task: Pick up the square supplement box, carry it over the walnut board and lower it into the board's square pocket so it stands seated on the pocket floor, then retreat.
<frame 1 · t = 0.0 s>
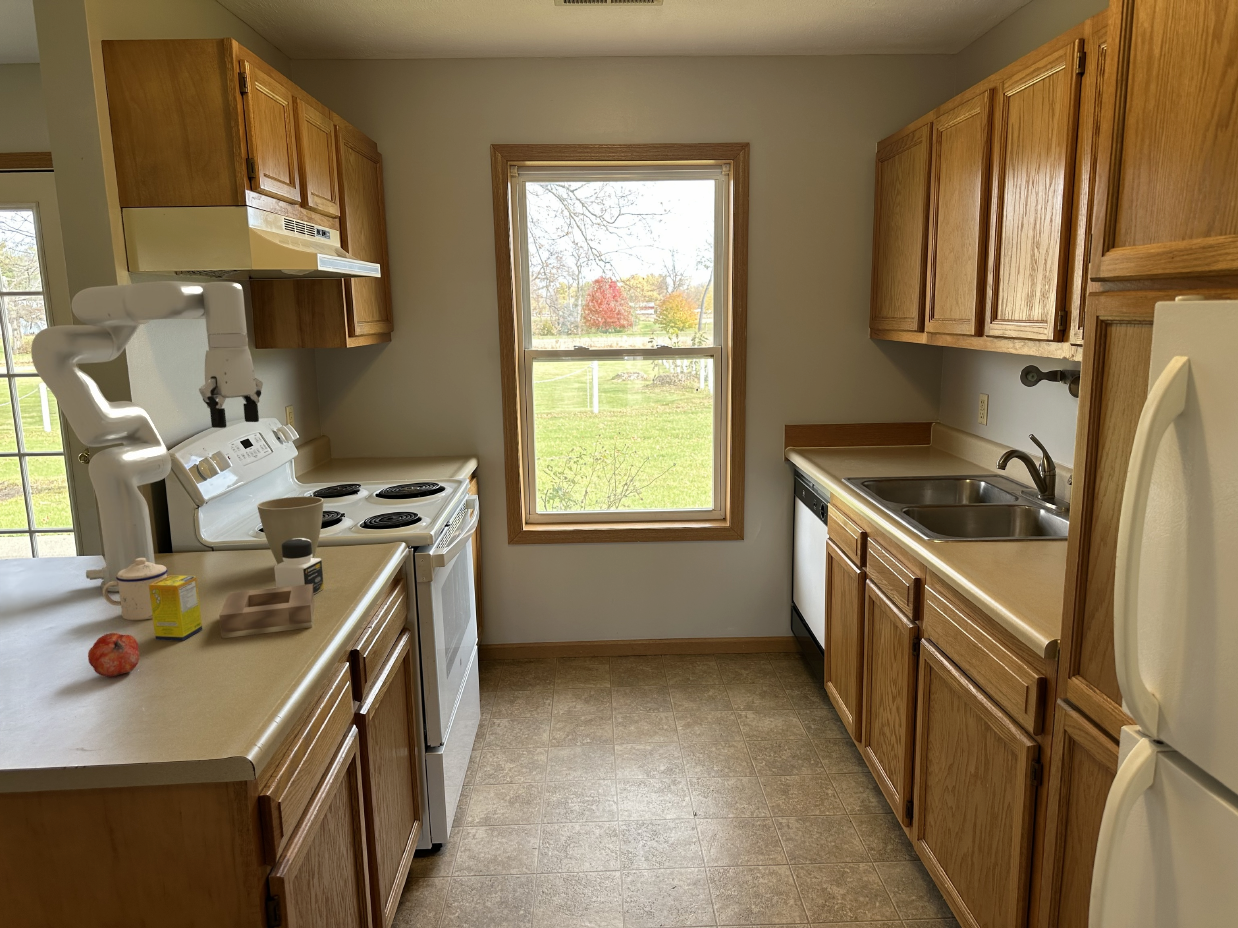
hand: (236, 424, 176), 37 cm above the countertop, tool pointing down, fingers open, 9 cm apart
teacup with lid: (139, 615, 171), on the countertop
plant pot: (296, 566, 203), on the countertop
medicine bottle: (300, 594, 182), on the countertop
pocket board: (270, 620, 165), on the countertop
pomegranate: (116, 674, 142), on the countertop
supplement box: (179, 635, 159), on the countertop
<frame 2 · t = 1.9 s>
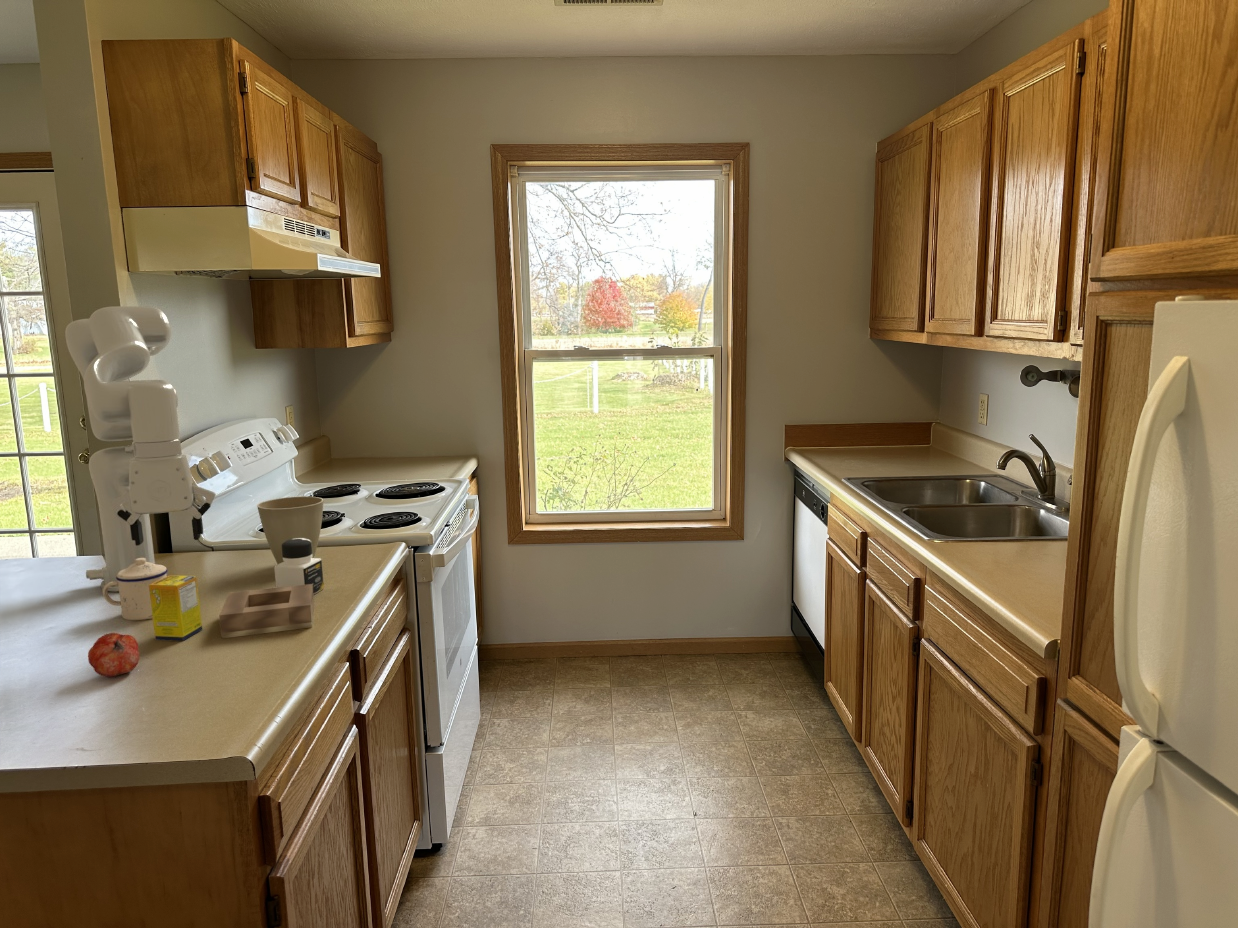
hand: (168, 541, 155), 18 cm above the countertop, tool pointing down, fingers open, 9 cm apart
nothing on the countertop moved.
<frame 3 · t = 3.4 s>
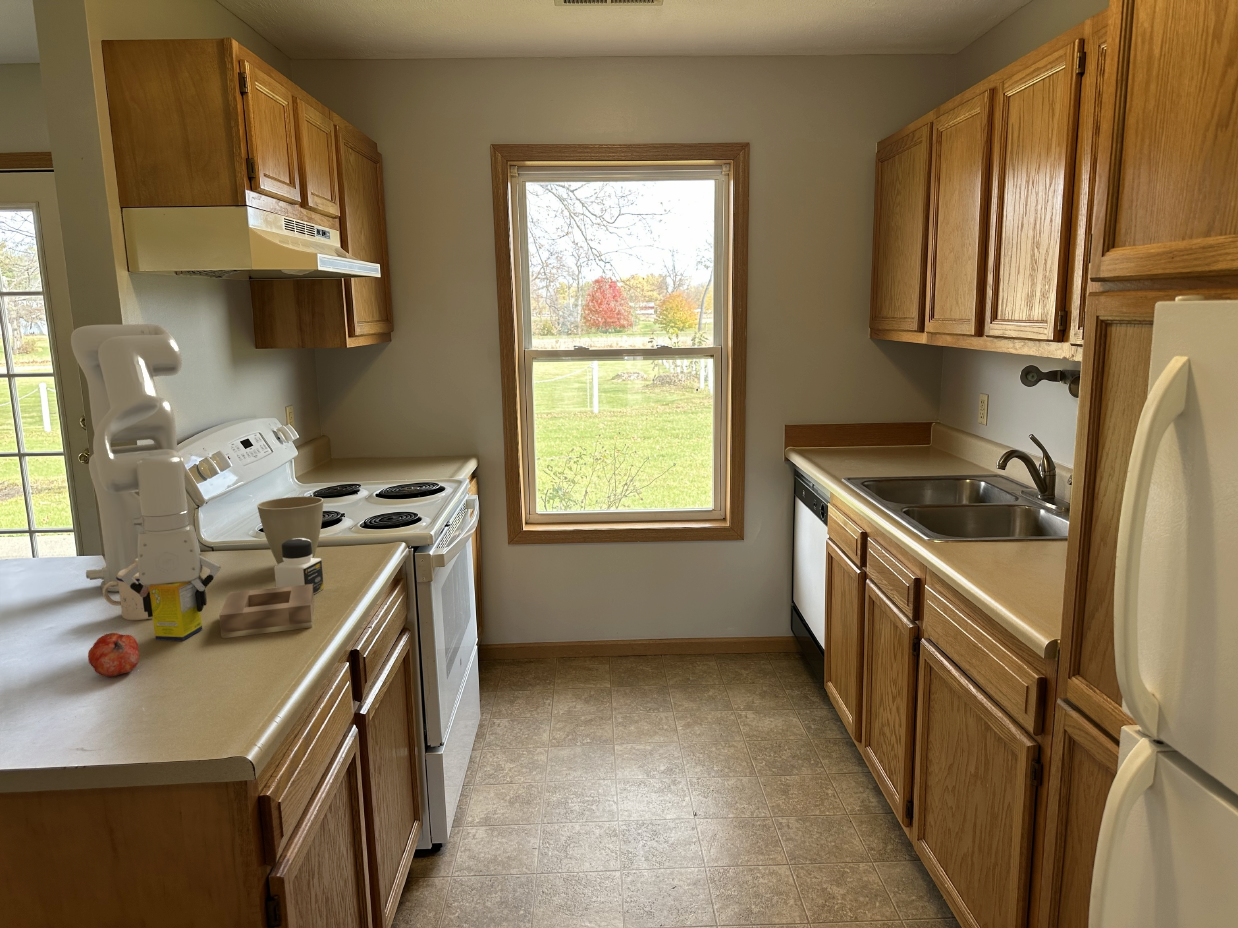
hand: (176, 611, 158), 5 cm above the countertop, tool pointing down, fingers closed on supplement box, 7 cm apart
supplement box: (179, 635, 159), on the countertop, touching gripper
everything else where it was.
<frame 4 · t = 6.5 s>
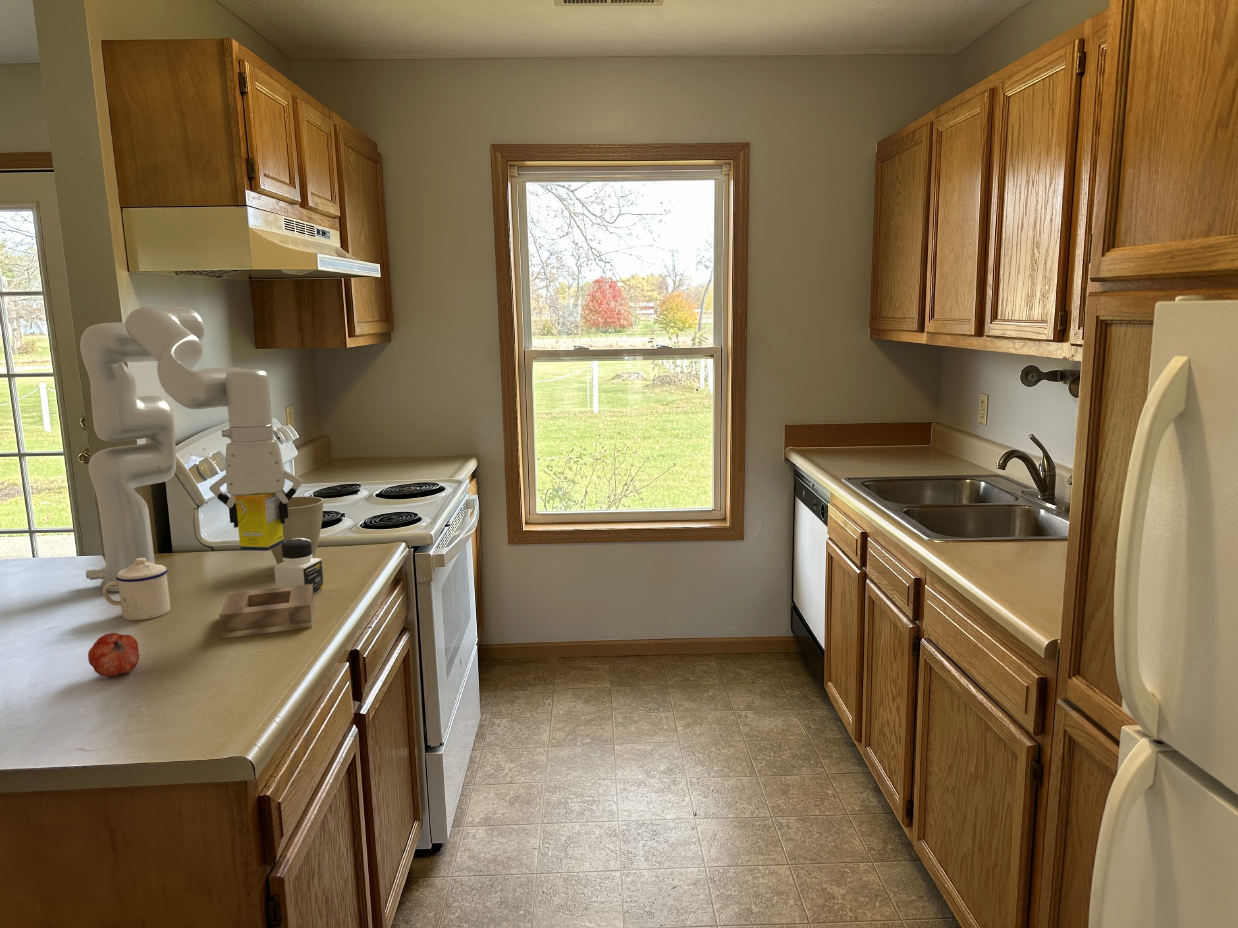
hand: (260, 523, 162), 20 cm above the countertop, tool pointing down, fingers closed on supplement box, 7 cm apart
supplement box: (262, 547, 163), point 15 cm above the countertop, touching gripper
everything else where it was.
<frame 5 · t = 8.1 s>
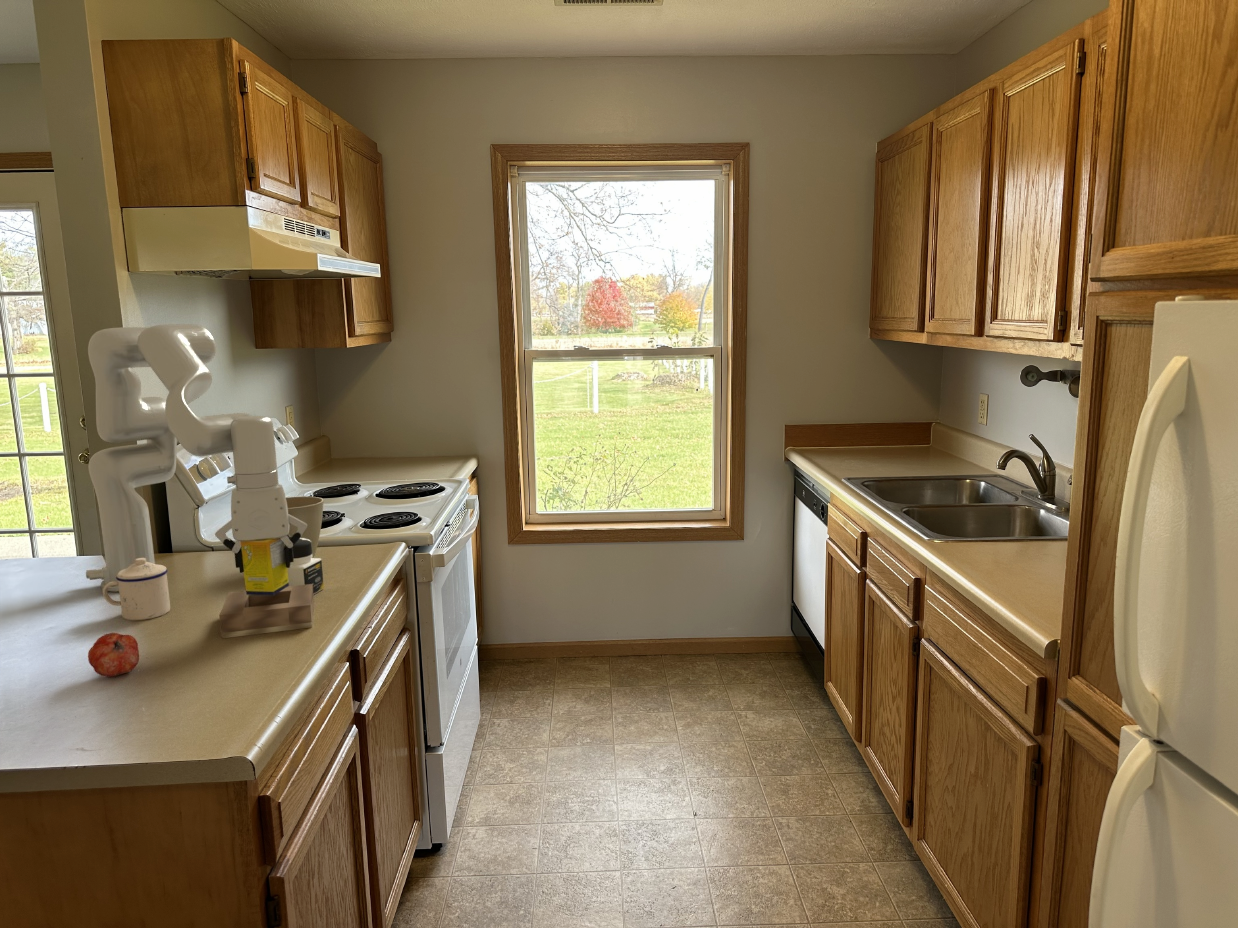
hand: (265, 567, 164), 11 cm above the countertop, tool pointing down, fingers closed on supplement box, 7 cm apart
supplement box: (267, 591, 164), point 6 cm above the countertop, touching gripper
everything else where it was.
when the fingers open (7 cm above the countertop, at t = 9.5 s): supplement box drops 1 cm, resting on pocket board.
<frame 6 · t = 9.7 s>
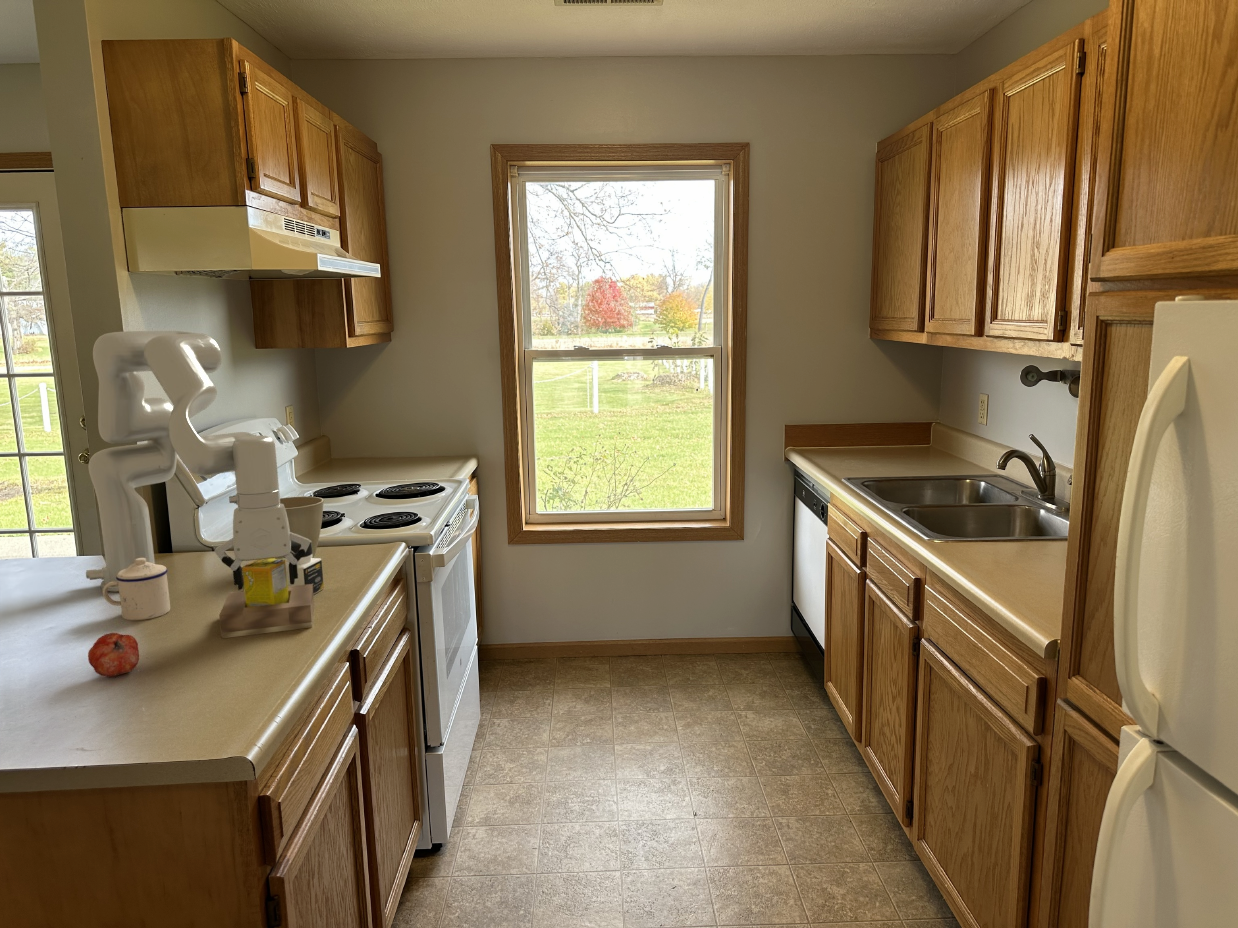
hand: (267, 585, 164), 7 cm above the countertop, tool pointing down, fingers open, 9 cm apart
supplement box: (269, 616, 165), point 1 cm above the countertop, touching pocket board
everything else where it was.
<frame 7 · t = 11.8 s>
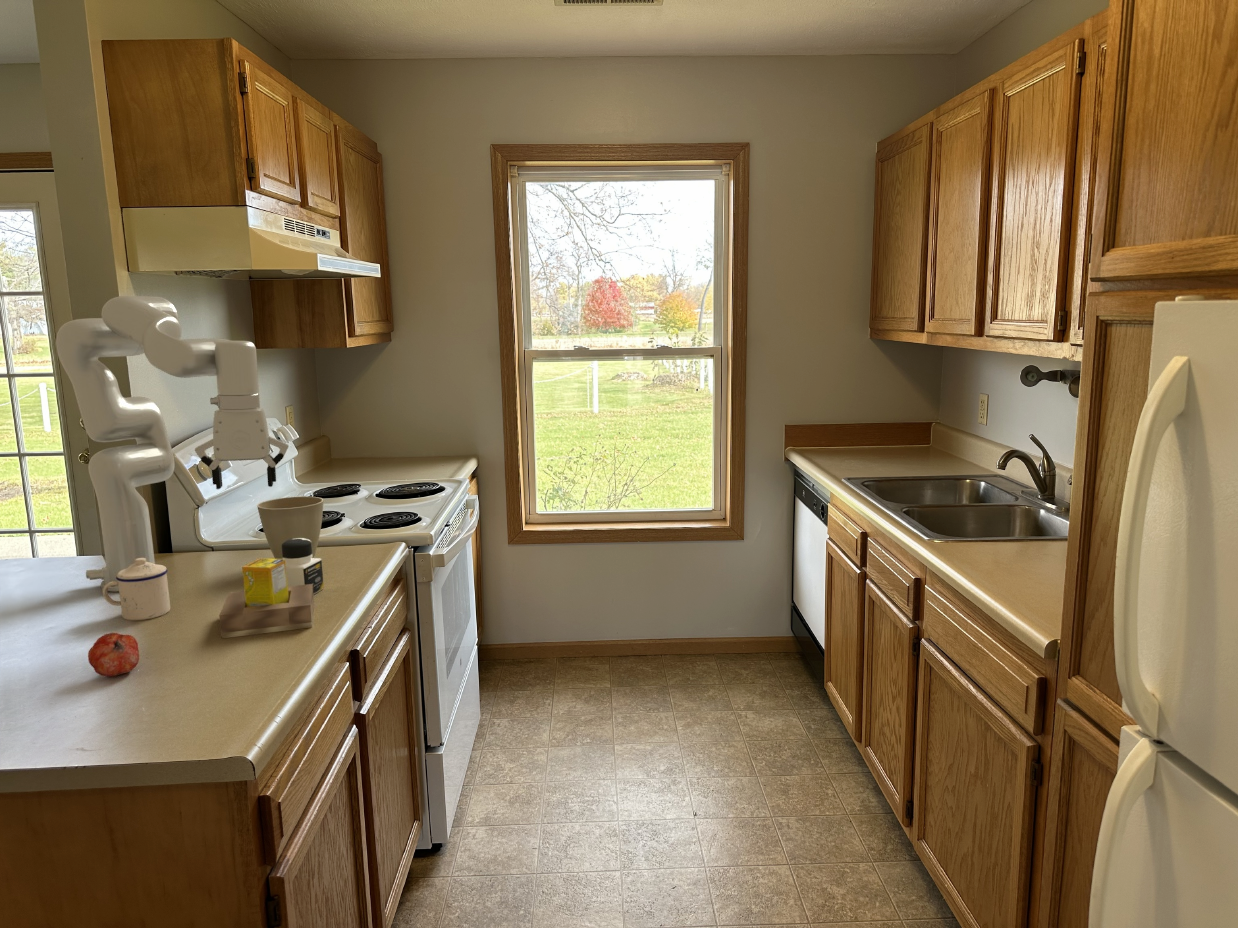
hand: (245, 486, 170), 25 cm above the countertop, tool pointing down, fingers open, 9 cm apart
nothing on the countertop moved.
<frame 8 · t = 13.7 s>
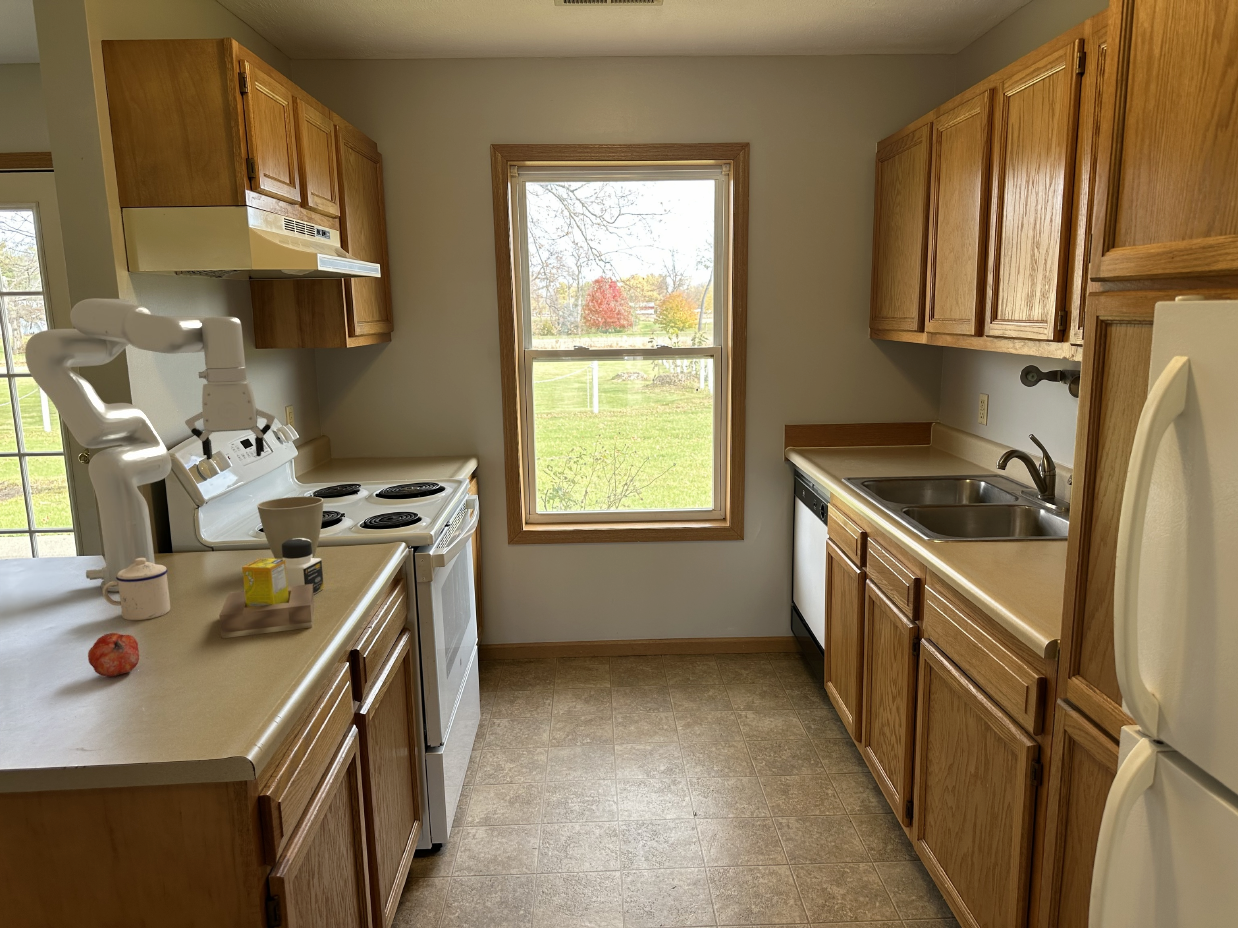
hand: (234, 457, 177), 30 cm above the countertop, tool pointing down, fingers open, 9 cm apart
nothing on the countertop moved.
at the end: supplement box 0.2 cm off-centre on the pocket board, point 0.8 cm above the pocket board's base; supplement box tilted 0°; the gripper is holding nothing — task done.
